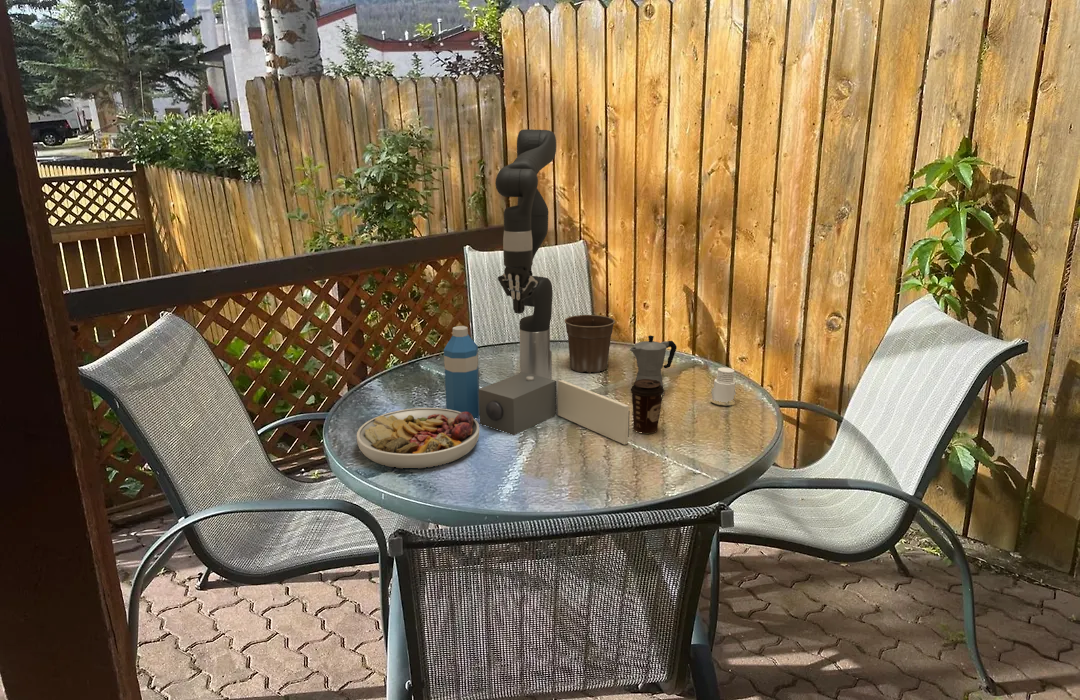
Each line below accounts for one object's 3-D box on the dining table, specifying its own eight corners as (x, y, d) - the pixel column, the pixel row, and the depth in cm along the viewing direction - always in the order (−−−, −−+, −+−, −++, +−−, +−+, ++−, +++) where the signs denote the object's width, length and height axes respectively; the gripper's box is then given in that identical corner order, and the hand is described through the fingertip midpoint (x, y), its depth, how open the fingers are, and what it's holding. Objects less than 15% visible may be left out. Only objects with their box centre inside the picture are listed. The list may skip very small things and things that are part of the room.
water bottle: (486, 412, 213) (483, 325, 206) (469, 424, 205) (466, 334, 198) (457, 407, 217) (454, 322, 210) (439, 418, 209) (435, 330, 202)
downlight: (718, 408, 215) (722, 374, 212) (703, 400, 221) (707, 367, 218) (741, 405, 218) (745, 372, 215) (726, 397, 224) (729, 365, 222)
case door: (555, 414, 210) (555, 379, 208) (560, 412, 212) (560, 378, 209) (624, 444, 190) (625, 407, 188) (629, 442, 192) (630, 405, 189)
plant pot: (588, 357, 262) (589, 311, 257) (624, 368, 251) (625, 320, 246) (554, 367, 252) (554, 319, 247) (589, 379, 240) (590, 329, 236)
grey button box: (522, 405, 218) (522, 369, 215) (556, 414, 211) (556, 377, 208) (476, 425, 204) (475, 387, 201) (510, 436, 197) (510, 397, 194)
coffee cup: (665, 426, 203) (667, 379, 199) (659, 437, 195) (661, 389, 192) (633, 422, 206) (634, 376, 202) (626, 433, 198) (627, 386, 194)
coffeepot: (637, 402, 220) (639, 342, 215) (621, 392, 228) (622, 334, 223) (682, 395, 226) (685, 336, 221) (665, 385, 234) (668, 328, 229)
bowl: (371, 484, 172) (369, 452, 170) (348, 435, 199) (345, 407, 196) (496, 461, 183) (496, 430, 181) (459, 418, 210) (458, 391, 208)
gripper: (547, 248, 197) (547, 313, 202) (507, 243, 205) (509, 306, 210) (528, 252, 191) (529, 319, 196) (489, 247, 199) (490, 312, 204)
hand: (518, 312), depth 203 cm, fingers closed
